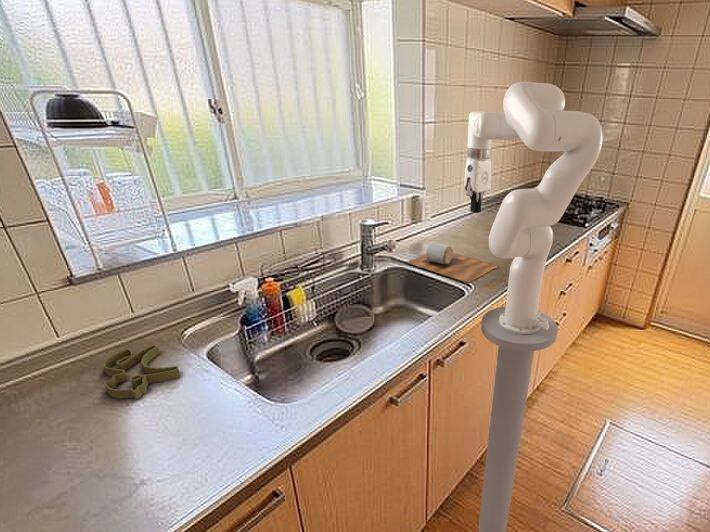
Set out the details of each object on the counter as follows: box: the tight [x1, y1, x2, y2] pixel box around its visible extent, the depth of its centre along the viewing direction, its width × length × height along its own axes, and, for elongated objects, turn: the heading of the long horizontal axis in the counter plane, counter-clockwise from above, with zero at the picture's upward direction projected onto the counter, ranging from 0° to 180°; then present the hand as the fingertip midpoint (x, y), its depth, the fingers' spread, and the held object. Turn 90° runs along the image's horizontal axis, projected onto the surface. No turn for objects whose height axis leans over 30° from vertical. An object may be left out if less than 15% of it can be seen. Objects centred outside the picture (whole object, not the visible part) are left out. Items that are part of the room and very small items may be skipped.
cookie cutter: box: [102, 344, 181, 400], centre depth 90 cm, size 18×12×2 cm, turn 50°
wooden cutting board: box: [406, 252, 498, 284], centre depth 158 cm, size 28×20×1 cm
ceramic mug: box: [425, 240, 454, 264], centre depth 158 cm, size 11×8×8 cm
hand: (475, 211), depth 140 cm, fingers closed
